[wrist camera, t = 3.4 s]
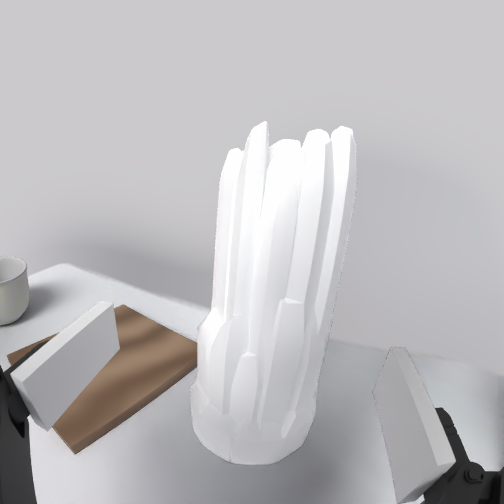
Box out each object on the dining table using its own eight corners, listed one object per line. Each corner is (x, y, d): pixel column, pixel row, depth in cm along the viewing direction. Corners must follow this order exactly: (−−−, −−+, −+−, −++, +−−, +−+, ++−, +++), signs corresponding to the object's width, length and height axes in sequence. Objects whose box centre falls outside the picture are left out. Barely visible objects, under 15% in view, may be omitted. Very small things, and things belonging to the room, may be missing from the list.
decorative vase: (169, 420, 22) (164, 109, 15) (240, 370, 31) (264, 131, 23) (267, 487, 16) (349, 98, 9) (326, 413, 25) (391, 143, 18)
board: (209, 356, 33) (209, 348, 32) (75, 454, 16) (70, 446, 15) (124, 311, 40) (123, 304, 39) (9, 363, 23) (6, 355, 22)
